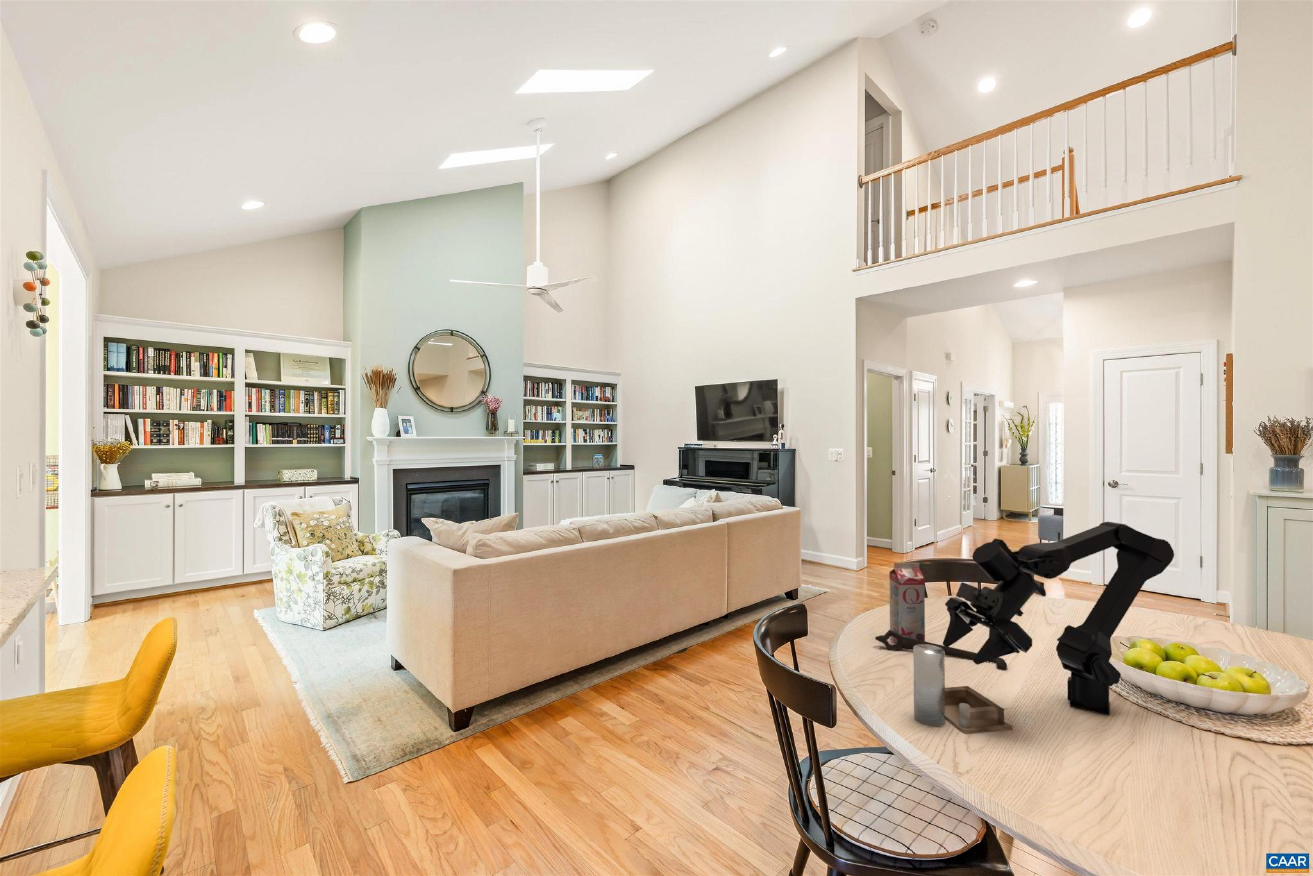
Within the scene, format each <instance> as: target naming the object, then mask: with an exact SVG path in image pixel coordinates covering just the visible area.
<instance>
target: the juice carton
mask: <svg viewBox="0 0 1313 876" xmlns="http://www.w3.org/2000/svg"><path fill="white" fill-rule="evenodd" d="M888 577H889V630H892V631H894V632H896V633H898V634H900V635H902V636H903V637H906V638H911V639H916V640H921V641H925V642H926V617H925V614H926V613H925V612H926V609H925V606H926V603H925V602H926V601H925V597H926V596H925V592H926V591H925V589H926V588H925V576H924V575H923V573H922V571H921V569H920V562H893V569H892V570H890V571H889V575H888ZM889 640H890V641H891V642H892V643H893V645H896V644H897V639H896V638H894V637H892V636H890V637H889Z"/></svg>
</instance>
